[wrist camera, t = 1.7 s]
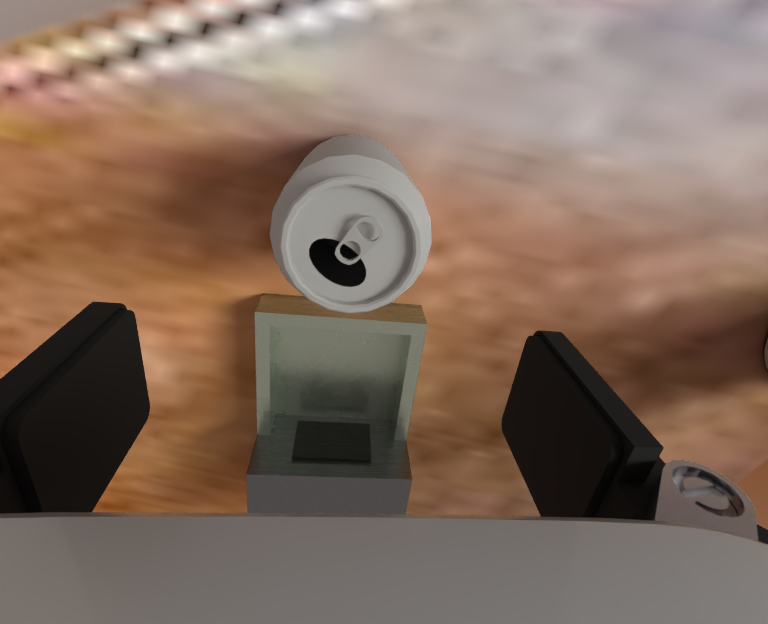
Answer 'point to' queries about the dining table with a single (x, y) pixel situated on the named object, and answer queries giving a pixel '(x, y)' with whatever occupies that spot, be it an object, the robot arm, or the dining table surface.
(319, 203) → the can
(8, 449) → the robot arm
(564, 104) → the dining table surface
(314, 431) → the frame
